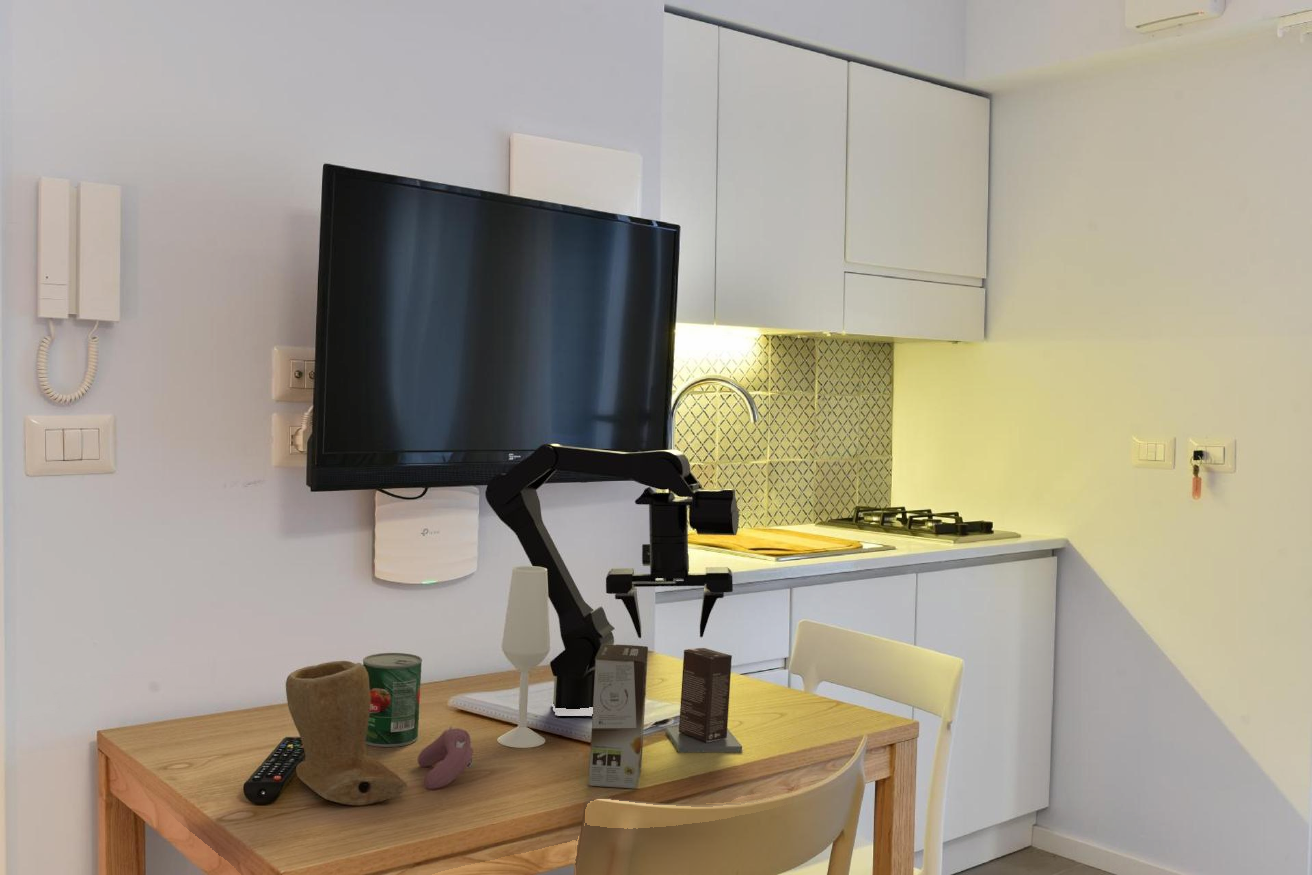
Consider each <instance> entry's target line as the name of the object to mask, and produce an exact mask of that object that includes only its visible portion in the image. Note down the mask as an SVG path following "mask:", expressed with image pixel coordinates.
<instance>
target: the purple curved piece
mask: <svg viewBox="0 0 1312 875" xmlns="http://www.w3.org/2000/svg"><path fill="white" fill-rule="evenodd" d="M473 752H474V748H473V747H472V746H471V736H470V733H469V732H468V731H466V730H465V729H462V728H460V727H458V728H453V727H452V726H449V728H448V729H445V731H443V732H442V733H441V734H440V735H439V737H438V738H437V739H435V740H434V741H432V742H431V743H430V744H428V745H427V746H425V747H424V748H423V749H422V750H421V752H420V753H419V754H418V757H417V764H418V765H419V766H421V767H422V768H428V767H431V766H434V765H435V766H434V767H433V768H432V769H431V770H429V772H428V773H427V775H426V776H425V778H424V785H425V787H426V788H427V789H428V790H436V789H440V788H442V787H445V786H447V785H449V784H450V783H452V782H454V781H455V780H456V778H457V777H458V776H459V775H461V774H462V773H464V772H465V770H466V769H467V768H470V767H471V766H472V765H473V764H474V763H473V762H474V758H473V757H472V756H473Z"/></svg>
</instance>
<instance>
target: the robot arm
mask: <svg viewBox="0 0 1312 875" xmlns="http://www.w3.org/2000/svg"><path fill="white" fill-rule="evenodd" d="M556 471H563V472H573V473H581V474H590V475H599V476H609V477H616V478H623V479H628V480H629V481H633V482H635V483H638V484H641V485H643V486H648V487H645V488H644V490H643V492H642V493H641V495H639V497H637V498H635V501H634V503H635V505H638V506H639V505H646V506H648V516H649V518H648V524H649V525H648V528H649V543H646V544H645V543H642V546H641V548H642V551H641V561H642V562H641V563H642V566H644V567H649V569H650V570H649V573H645V574H643V573H639V574H638V573H637V574H636V573H635V568H634V567H633V568H628V567H627V568H611V569H609V571H608V572H607V574H606V577H605V593H606V594H610V595H612V594H613V595H614V599H615V600H621V601H622V603H623V605H624V606H625V607H624V608H626V610H627V612H628V614H629V617H630V619H631V621H632V625H633V627H634V630H635V633H636V635H637V638H638V639H641V638H642V622H641V616H640V608H639V602H638V601H639V600H638V590H637V587H638V588H639V587H641V588H642V587H644V588H645V587H648V588H649V587H653V588H654V587H703V594H702V604H701V613H700V621H699V638H703V636H704V633H705V631H706V627H707V624H708V621H709V618H710V615H711V612H712V610H713V609H714V606H715V604H716V602H717V600H718V599H723V598H724V597H725V593H733V589H734V586H733V584H734V583H733V581H734V580H733V571H732V570H731V569H730V568H729V567H728V566H720V567H719V566H718V567H717V566H715V567H711V566H710V567H705V573H700V572H699V573H689V571H690V564H689V562H690V557H689V556H690V555H689V540H688V539H689V536H688V535H689V532H688V530H689V529H688V528H689V527H688V523H689V526H690V528H692V530H695V532H696V534H697V535H698V536H700V535H702V536H703V535H705V536H737V535H738V534H737V533H738V530H739V524H740V523H739V522H740V517H739V516H740V510H739V509H738V502H737V498H736V490H735V489H734V488H725V489H719V490H718V489H703V486H701V484H700V483H699V481H698V480H697V479H696V477H695V476H694V474H692V472H691V464H690V461H689V458H687V456H686V455H685V453H683V452H682V451H680V450H677V449H662V450H649V451H639V452H638V451H637V452H625V451H614V450H605V449H595V448H589V447H588V448H587V447H577V446H569V445H568V446H567V445H561V444H558V443H546V444H545V443H544V444H541V445H540V446H538V448H536V450H534V452H532V453H531V454H530V455H529V456H528V457H526V458H524V459H523V460H521V461H520V462H519V463H518V464H516V465H514V466H513V467H512V468H511V469H509V470H508V471H507V472H506V473H501V474H498V475H495V476H493V477H492V478H491V479H489V481H488V483H487V484H486V488H485V491H484V495H485V496H484V497H485V500H486V502H487V504H488V505H489V507H490V508H491V509H492V511H493V512H494V513H495V514H496V516H497V517H498V519H499V520H500V521H501V522H502V523H504V524H505V526H507V527H508V528H509V529H510V530H511V531H512V532H513V533H514V534H515V535H516V537H517V539H518V541H519V543H520V545H521V547H522V549H523V550H524V552H525V554H526V556H527V558H528V560H529V562H530V564H531V566H536V567H543V568H546V569H547V578H548V600H549V601H550V602H551V605H552V606H553V608H554V610H555V612H556V614H557V618H558V624H559V632H560V634H559V635H560V639H561V641H562V644H563V648H564V649H563V651H561V652H560V653H559V654H558V655H557V656H555V657H554V659H552V660H551V661H550V662H549V666H550V669H551V672H552V675H553V677H554V680H553V682H554V683H553V697H552V698H553V701H552V702H553V704H554V706H555V708H566V709H580V708H589V707H593V695H594V678H595V657H596V655H597V653H598V651H599V649H600V647H601V645H602V644H608V645H615V636H614V634H613V631H614V630H615V627H614V626H613V625H612V624H611V623H610V622H609V620H608V618H607V615H606V612H605V609H604V608H603V606H599V607H597V608H595V609H594V608H593V607H591V606H590V605H589V604H588V603H587V602H586V601H585V600H584V598H583V596H582V594H581V592H580V591H579V589H578V586H577V585H576V582H575V581H574V578H573V577H572V575H571V573H570V571H569V568H568V567H567V565H566V564H565V561H564V559H563V558H562V556H561V554H560V553H559V552H560V551H559V550H558V548H557V546H556V544H555V542H554V541H553V539H552V537H551V535H550V533H549V531H548V529H547V526H546V525H545V524H544V521H543V516H542V510H541V501H540V499H539V495H538V492H537V490H539V488H541V487H542V486H543V485H544V484H545V483H546V482H547V481H548V480H549V479H550V478H551V476H553V475H554V473H555V472H556ZM653 488H654V489H657V490H660V491H661V490H662V491H664V490H669V491H670V492H656V491H654V489H653ZM675 495H676V496H677V497H679V498H676V496H675ZM661 579H662V580H661Z"/></svg>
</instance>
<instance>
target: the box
mask: <svg viewBox="0 0 1312 875" xmlns="http://www.w3.org/2000/svg"><path fill="white" fill-rule="evenodd" d="M732 658H733V655H731V654H729V653H724V652H719V651H717V650H713V649H709V648H706V647H699V648H688V649H684V650H683V659H682V660H683V662H682V674H681V675H682V676H681V694H680V706H679V707H680V709H679V724H678V727H679V732H680V733H683V734H686V735H689V736H692V737H694V738H697V739H700V740H702V741H705V742H714V741H718V740H722V739H725V738H727V728H728V721H729V709H730V708H729V707H730V693H731V692H730V691H731V674H732V673H731V672H732Z"/></svg>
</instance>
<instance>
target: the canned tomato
mask: <svg viewBox="0 0 1312 875" xmlns="http://www.w3.org/2000/svg"><path fill="white" fill-rule="evenodd" d="M362 662H363V664H362V665H363V666H364V667H365V668H366V670H367V672H368V676H369V687H370V698H371V708H370V715H369V721H368V726H367V732H366V744H365V746H370V747H375V748H376V747H378V748H396V747H404V746H408V745H411V744H413V743H415V742H417V741H418V739H419V719H420V716H419V715H420V702H421V699H420V698H421V681H422V677H421V676H422V664H423V663H422V662H423V659H422V657H420V656H418V655H416V654H412V653H406V652H405V653H403V652H384V653H374V654H370V655H367V656H365V657H364V658H363V659H362Z"/></svg>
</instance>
